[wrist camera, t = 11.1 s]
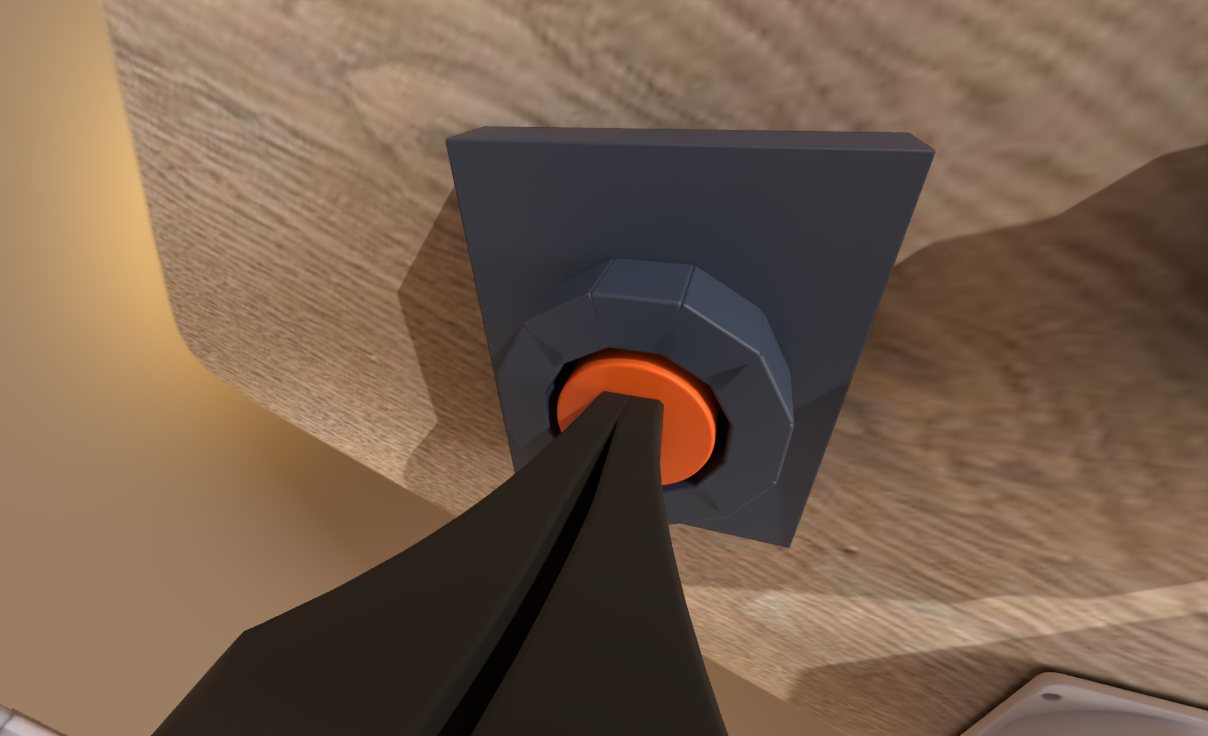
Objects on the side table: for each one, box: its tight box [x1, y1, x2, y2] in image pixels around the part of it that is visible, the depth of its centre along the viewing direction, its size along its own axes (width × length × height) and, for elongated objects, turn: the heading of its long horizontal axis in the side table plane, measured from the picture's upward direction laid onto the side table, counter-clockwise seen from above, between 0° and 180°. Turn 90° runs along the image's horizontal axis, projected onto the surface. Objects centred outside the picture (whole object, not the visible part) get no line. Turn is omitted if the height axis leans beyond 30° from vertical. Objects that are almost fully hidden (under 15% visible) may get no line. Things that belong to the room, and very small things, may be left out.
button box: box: [446, 126, 935, 548], centre depth 11 cm, size 11×9×4 cm
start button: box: [557, 347, 720, 485], centre depth 11 cm, size 4×4×2 cm
